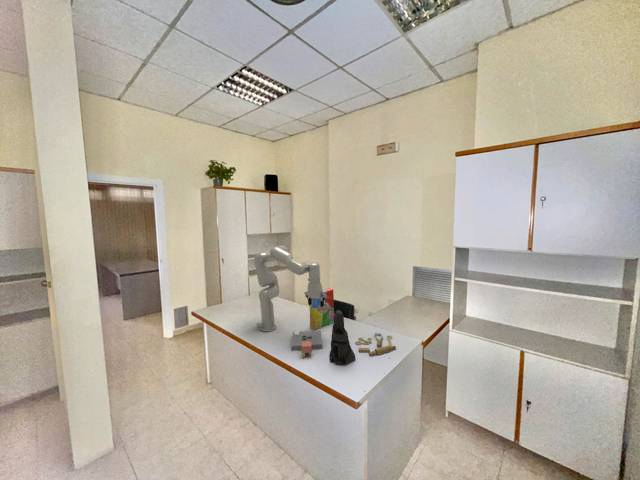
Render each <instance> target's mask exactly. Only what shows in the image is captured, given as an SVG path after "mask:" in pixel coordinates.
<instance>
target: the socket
mask: <svg viewBox="0 0 640 480" xmlns="http://www.w3.org/2000/svg"><path fill="white" fill-rule="evenodd" d="M306 341H311V345H312V350H323V348H324V347H323V337H322V330H321V329H320V330H319V329H317V330H305V331H303V330H302V331H299V330H298V331H297V330H295V331H293V332H292V338H291V344H290V345H291V346H290V347H291V348H290V349H291V351H302V342H306Z"/></svg>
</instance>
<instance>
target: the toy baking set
mask: <svg viewBox="0 0 640 480" xmlns="http://www.w3.org/2000/svg"><path fill="white" fill-rule="evenodd" d="M378 336H379V337H380V338H378ZM383 337H384V336H383V334H382V333H379V332H378V333H377V332H374V334H373V338H371V337H368V338H367V340H366V339H364V338H363V337H358V338H357V340H358V341H355V343H354V345H356V346H362V345H364V346H365V345H367V346H368V345H370V344H372V340H373V339H374V340H375V341H376V347H377V348H375V349H374V350H372V351H371V349H370V347H358V349H357V350H358V353H366V354H367V353H368V355H369V356H375V355H376V356H379V355H383V354H386V352H387V353H389V352H391V351H392V350H396V349H397V346H396V345H393V344H392V341H391V340H393V336H392V335H387V336H386V340H387V345H385V346H382V345H383Z"/></svg>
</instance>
